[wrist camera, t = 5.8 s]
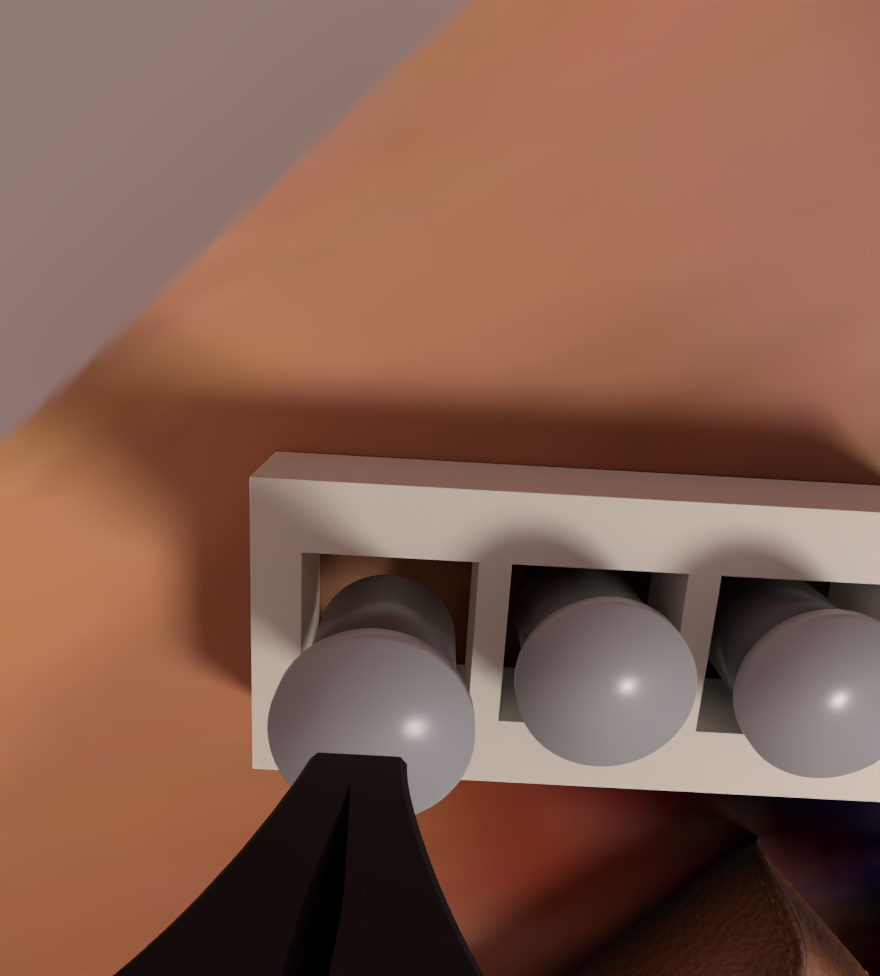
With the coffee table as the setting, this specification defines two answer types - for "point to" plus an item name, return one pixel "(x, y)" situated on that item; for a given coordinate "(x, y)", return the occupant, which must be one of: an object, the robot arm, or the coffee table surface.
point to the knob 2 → (799, 675)
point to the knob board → (561, 543)
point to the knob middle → (598, 667)
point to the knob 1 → (379, 688)
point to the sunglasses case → (730, 930)
